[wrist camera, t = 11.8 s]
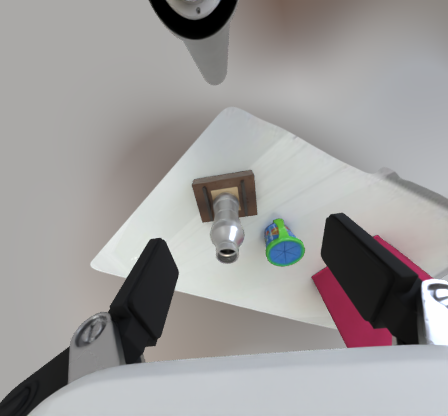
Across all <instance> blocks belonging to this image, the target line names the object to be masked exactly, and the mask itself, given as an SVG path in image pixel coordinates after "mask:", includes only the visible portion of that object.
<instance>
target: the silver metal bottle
mask: <svg viewBox="0 0 448 416" xmlns="http://www.w3.org/2000/svg"><path fill="white" fill-rule="evenodd" d="M213 209H214V214H215V217H214V222H213V225H212V228H211V232H210V238H211V241H212V243H213V244H214V245H215V246H216V258H217V259H218V261H220V262H221V263H225V264H230V263H233V262H235V261H236V260H237V259H238V256H239V253H238V252H239V246H240V245H241V244H242V242H243V240H244V230H243V228H242V225H241V223H240V220H239V216H238V211H239V201H238V199H237V198H236V196H235V195H233V194H231V193H228V192H223V193H220V194H219V195H217V196H216V198H215V199H214V202H213Z"/></svg>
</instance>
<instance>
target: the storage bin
mask: <svg viewBox="0 0 448 416" xmlns="http://www.w3.org/2000/svg"><path fill="white" fill-rule="evenodd" d="M373 238H374V239H375V240H377V241H378V242H379V243H380V244H382V245H383V246H384V247H385V248H386V249H388V250H389V251H390V252H391V253H392V254H394V255H395V256H396V257H397V258H399V259H400V260H401V261H402V262H403V263H405V264H406V265H407V266H408V267H410V268H411V269H412V270H413V271H414V272H416V273H417V274H418V275H419V276H418V277H419V278H420V279H421V280H422V281H423V282H424V281H425V280H430V279H434V278H432V277H431V276H430V275H428V274H427V273H426V272H425V271H423V270H422V269H421V268H420V267H418V266H417V265H416V264H414V263H413V262H412V261H411V260H409V259H408V258H407V257H406V256H404V255H403V254H402V253H400V252H399V251H398V250H397V249H395V248H394V247H393V246H391V245H390V244H388V243H387V242H386V241H384V240H383V239H381V238H380V237H379V236H378V235H376V236H374V237H373ZM311 278H312V279H313V281H314V283H315V285H316V287H317V289H318V291H319V293H320V295H321V297H322V299H323V301H324V303H325V305H326V307H327V309H328V311H329V313H330V315H331V317H332V319H333V321H334V322H335V324H336V326H337V328H338V330H339V332H340V334H341V336H342V338H343V340H344V342H345V344H346V346H347V348H356V347H373V346H392V334H391V333H390V332H389V331H388V329H387V328H381V329H373V327H372V326H371V325H370V323H369V322H368V321H365V320H364V319H363V318H362V317H361V315H360V314H359V312H358V311H357V309H356V308H355V306H354V305H353V303H352V302H351V300H350V299H349V297H348V296H347V295H346V293H345V292H344V290H343V289H342V287H341V286H340V284H339V283H338V281H337V280H336V278H335V277H334V275H333V274H332V272H331V271H330V270H329V268H328V267H326V268H324V269H323V270H321V271H320V272H318V273H316V274H315V275H313V276H312V277H311Z"/></svg>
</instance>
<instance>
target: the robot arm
mask: <svg viewBox="0 0 448 416" xmlns="http://www.w3.org/2000/svg"><path fill="white" fill-rule="evenodd" d="M166 1H167V2H168V3H169V5H170V6H171V7H172V8H173V9H174V10H175V11H176V12H177V13H178V14H180V15H181V16H183V17H185V18H188V19H194V20H196V19H202V18H204V17H206V16H208V15H209V14H210V13H211V12H212V11H213V10H214V9H215V8H216V6H217V5H218V3H219V1H220V0H166ZM198 11H200V13H199V14H198ZM321 257H322V259H323V261H324V262H325V264H326V265H327V267H328V268H329V270H330V271H331V272H332V274H333V275H334V277H335V278H336V280H337V281H338V283H339V284H340V286H341V287H342V289H343V290H344V292H345V293H346V295H347V296H348V297H349V299H350V300H351V302H352V303H353V305H354V306H355V308H356V309H357V311H358V312H359V314H360V315H361V317H362V318H363V319H364V320H365V321H368V322H369V323H370V325H371V326H372V327H373V329H381V328H387V329H388V331H389V332H390V333H391V334H392V346H373V347H356V348H340V349H324V350H309V351H293V352H279V353H265V354H250V355H237V356H222V357H209V358H195V359H181V360H168V361H157V362H145V359H144V355H143V352H144V349H145V347H148V346H156V342H157V339H158V338H160V337H161V334H162V331H163V328H164V324H165V320H166V317H167V314H168V310H169V307H170V303H171V300H172V296H173V293H174V289H175V286H176V282H177V279H178V275H179V271H178V268H177V266H176V264H175V262H174V259H173V257H172V255H171V253H170V250H169V248H168V246H167V244H166V242H165V240H162V239H161V238H155V239H150V240H149V242H148V244H147V245H146V247H145V249H144V250H143V252H142V254H141V255H140V257H139V259H138V260H137V262H136V264H135V265H134V267H133V269H132V270H131V272H130V274H129V275H128V277H127V279H126V280H125V282H124V284H123V285H122V287H121V289H120V290H119V292H118V294H117V295H116V297H115V299H114V300H113V302H112V303H111V305H110V310H109V311H108V313H107V312H100V313H97V314H95V315H93V316H91V317H90V318H89V319H87V320H86V321H84V323H82V324H81V325H80V326H79V328H78V329H77V330H76V332H75V333H74V335H73V337H72V339H71V342H70V346H69V347H68V348H67V349H66V350H64V351H63V352H61V353H60V354H59V355H58V356H56V357H55V358H53V359H52V360H51V361H50V362H48V363H47V364H46V365H44V366H43V367H42V368H40V369H39V370H38V371H36V372H35V373H34V374H32V375H31V376H30V377H28V378H27V379H26V380H24V381H23V382H22V383H20V384H19V385H18V386H17V387H15V388H14V389H13V390H12V391H11V392H10V393H9V394H8V395H7V396H6V397H5V398H4V399H3V400H2V402H1V403H0V416H448V282H446V281H443V280H436V279H430V280H425V281H424V282H423V281H422V280H421V279H420V278H419V277H418V276H419V275H418V274H417V273H416V272H414V271H413V270H412V269H411V268H410V267H408V266H407V265H406V264H405V263H403V262H402V261H401V260H400V259H399V258H397V257H396V256H395V255H394V254H392V253H391V252H390V251H389V250H388V249H386V248H385V247H384V246H383V245H382V244H380V243H379V242H378V241H377V240H375V239H374V238H373V237H372V236H371V235H369V234H368V233H367V232H366V231H365V230H363V229H362V228H361V227H360V226H358V225H357V224H356V223H355V222H354V221H352V220H351V219H350V218H349V217H348V216H346V215H345V214H344V213H337V214H331V215H330V216H329V217H328V218H326V223H325V229H324V236H323V242H322V248H321Z"/></svg>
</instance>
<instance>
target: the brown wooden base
mask: <svg viewBox="0 0 448 416" xmlns="http://www.w3.org/2000/svg"><path fill="white" fill-rule="evenodd" d="M192 187H193V191H194V194H195V198H196V201H197V205H198V208H199V212H200V215H201V219H202V222H203V223H204V222H211V221H214V217H215V214H214V209H213V202H214V199H215V198H216V196H217V195H219V194H220V193H223V192H228V193H231V194H233V195H235V196H236V198H237V199H238V201H239V211H238V216H239V217H246V216H253V215H257V204H256V192H255V181H254V174H253V172H252V170H248V171H242V172H236V173H230V174H224V175H218V176H212V177H206V178H200V179H194V181H193V183H192Z"/></svg>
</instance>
